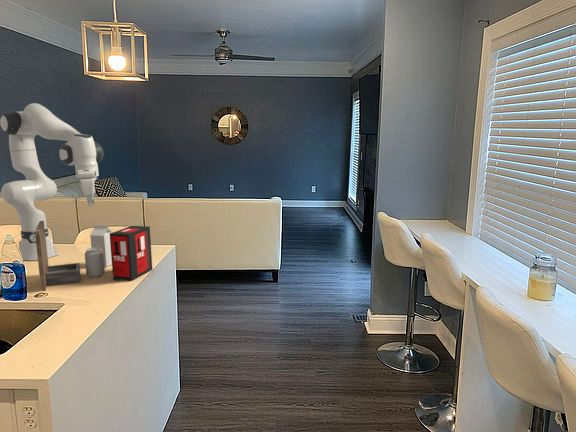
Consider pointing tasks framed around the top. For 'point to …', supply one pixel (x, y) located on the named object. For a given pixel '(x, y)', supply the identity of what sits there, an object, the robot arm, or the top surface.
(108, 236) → the milk carton
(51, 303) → the top surface
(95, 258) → the can
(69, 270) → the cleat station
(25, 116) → the robot arm
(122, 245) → the cleaning product box
